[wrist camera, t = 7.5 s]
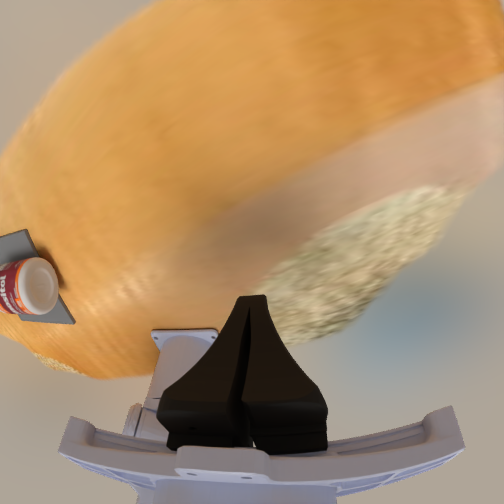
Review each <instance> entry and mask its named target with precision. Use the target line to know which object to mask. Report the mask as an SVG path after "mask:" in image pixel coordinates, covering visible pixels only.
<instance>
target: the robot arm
mask: <svg viewBox="0 0 504 504" xmlns="http://www.w3.org/2000/svg"><path fill="white" fill-rule="evenodd" d="M151 336H152V338H153V340H154V342H155V344H156V345H157V347H158V349H159V351H160V355H159V358H158V361H157V364H156V368H155V371H154V374H153V378H152V381H151V384H150V388H149V392H148V395H147V397H146V400H145V402H144V406H143V408H142V407H141V406H142V405H141V404H139V403H136V405H133V406H131V407H130V409H129V412H128V415H127V419H126V422H125V425H124V429H123V433H122V434H118V433H114V432H110V431H105V430H101V429H98V428H95V426H93V425H92V424H91V423H90V422H88V421H86V420H83V419H79V418H76V417H72V416H71V417H70V419H69V421H68V424H67V427H66V429H65V432H64V435H63V438H62V441H61V443H60V446H59V449H58V453H60V454H61V455H62V456H64V457H66V458H67V459H69V460H71V461H72V462H74V463H76V464H77V465H79V466H81V467H83V468H84V469H87V470H90V471H92V472H95V473H98V474H101V475H103V476H106V477H109V478H112V479H115V480H118V481H121V482H124V483H128V484H129V485H130V486H131V487H132V488H133V489H134V490H135V491H136V492H137V494H138V498H137V503H136V504H337V500H336V497H339V496H344V495H349V494H353V493H358V492H362V491H366V490H370V489H374V488H377V487H381V486H384V485H388V484H391V483H394V482H397V481H400V480H403V479H406V478H409V477H412V476H415V475H418V474H421V473H423V472H426V471H429V470H431V469H434V468H437V467H439V466H441V465H443V464H445V463H446V462H448V461H449V460H450V459H452V458H453V457H455V456H456V455H458V454H459V453H460V452H461V451H463V450H464V449H465V445H464V441H463V438H462V434H461V431H460V428H459V425H458V422H457V419H456V416H455V413H454V410H453V407H452V406H447V407H444V408H442V409H439V410H436V411H433V412H431V413H429V414H427V415H426V416H425V417H424V419H423V420H422V421H420V422H417V423H413V424H410V425H406V426H403V427H399V428H396V429H391V430H388V431H383V432H379V433H374V434H369V435H365V436H360V437H354V438H349V439H343V440H337V441H329V442H328V441H327V432H326V431H327V425H326V420H327V415H328V408H327V405H326V402H325V400H324V398H323V396H322V394H321V392H320V390H319V388H318V386H317V385H316V384H315V383H314V382H313V381H312V380H311V379H310V378H309V377H308V376H307V375H306V374H305V373H304V371H303V370H302V369H301V368H300V367H299V365H298V364H297V363H296V361H295V360H294V359H293V358H292V356H291V355H290V353H289V352H288V350H287V349H286V347H285V345H284V344H283V342H282V340H281V338H280V337H279V335H278V333H277V331H276V328H275V326H274V324H273V321H272V319H271V316H270V314H269V310H268V305H267V298H266V296H265V295H252V296H239V297H238V299H237V301H236V303H235V306H234V308H233V310H232V312H231V314H230V316H229V318H228V320H227V322H226V323H225V325H224V327H223V329H222V330H221V332H220V333H219V335H218V332H217V331H216V330H214V329H206V330H159V331H152V332H151ZM214 336H215V337H214ZM253 442H254V444H255V446H256V447H253Z"/></svg>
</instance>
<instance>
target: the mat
mask: <svg viewBox="0 0 504 504" xmlns="http://www.w3.org/2000/svg"><path fill="white" fill-rule="evenodd" d="M34 257H39V255H38V253H37V251H36V249H35V247H34V244H33V242H32V240H31V238H30V235H29V233H28V231H27V229H25V230H21V231H18V232H14V233H11V234H7V235H4V236H1V237H0V265H1V264H5V263H9V262H14V261H19V260H24V259H29V258H34ZM39 258H40V257H39ZM18 316H19V317H20V319H21V320H22V321H32V322H44V323H58V324H75V322H76V321H75V320H74V318H73V317H72V315H71V314H70V312H69V310H68V309H67V307H66V305H65V304H64V302H63V300H62V299H61V297H60V295H59V293H58V299H57V302H56V304H55V306H54V307H53V309H52V310H51V311H49V312H48V313H46V314H41V315H32V314H18Z"/></svg>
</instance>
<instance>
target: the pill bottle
mask: <svg viewBox="0 0 504 504" xmlns="http://www.w3.org/2000/svg"><path fill="white" fill-rule="evenodd" d="M58 292H59V286H58V279H57V275H56V273H55V270H54V269H53V267H52V265H51V264H50V263H49V262H48V261H46V260H45V259H43V258H39V257H34V258H29V259H24V260H19V261H14V262H9V263H5V264H1V265H0V311H2V312H4V313H9V314H32V315H41V314H46V313H48V312H49V311H51V310H52V309H53V307H54V306H55V304H56V302H57V299H58Z"/></svg>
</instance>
